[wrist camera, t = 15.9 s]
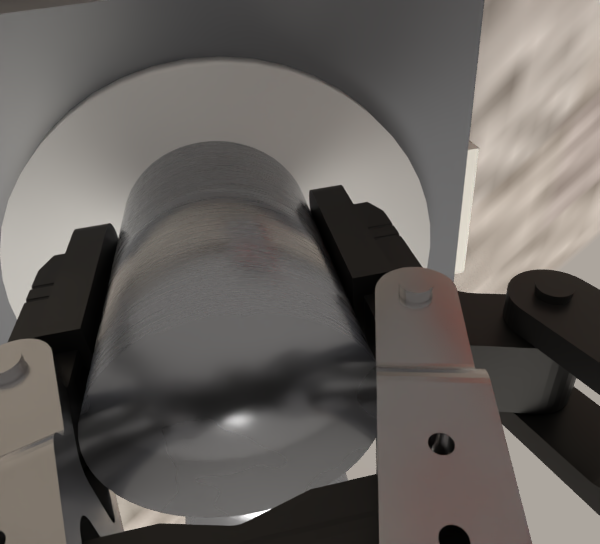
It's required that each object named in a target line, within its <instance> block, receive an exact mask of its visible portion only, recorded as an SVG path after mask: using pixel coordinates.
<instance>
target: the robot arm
mask: <svg viewBox="0 0 600 544" xmlns="http://www.w3.org/2000/svg"><path fill="white" fill-rule="evenodd" d="M309 204H310V211H311V214H312V216H313V218H314V221H315V223H316V225H317V228H318V230H319V232H320V234H321V237H322V239H323V241H324V244H325V246H326V248H327V250H328V253H329V255H330V257H331V260H332V262H333V264H334V267H335V269H336V271H337V273H338V276H339V278H340V280H341V283H342V285H343V287H344V290H345V292H346V294H347V296H348V299H349V301H350V303H351V306H352V308H353V310H354V313H355V315H356V317H357V319H358V322H359V324H360V326H361V329H362V331H363V333H364V335H365V338H366V340H367V342H368V345H369V347H370V349H371V352H372V354H373V356H374V358H375V361H376V474H375V475H371V476H366V477H362V478H357V479H353V480H349V481H344V482H340V483H335V484H331V485H327V486H322V487H318V488H313V489H310V490H308V491H306V492H304V493H302V494H300V495H298V496H296V497H294V498H292V499H290V500H288V501H286V502H284V503H282V504H280V505H278V506H276V507H274V508H272V509H270V510H268V511H266V512H264V513H262V514H260V515H258V516H257V517H255V518H253V519H251V520H249V521H247V522H244V523H242V524H239V525H232V526H225V525H192V524H155V525H151V526H147V527H142V528H138V529H134V530H129V531H125V532H124V529H123V525H122V521H121V516H120V512H119V508H118V503H117V499H116V495H115V493H114V492H113V491H111V490H110V489H109V488H107V487H106V486H104V485H103V484H102V483H101V482H100V481H99V480H98V479H97V478H96V477H95V476H94V474H93V473H92V471H91V470H90V469H89V467H88V466H87V464H86V462H85V460H84V458H83V455H82V453H81V450H80V445H79V441H78V422H79V417H80V413H81V408H82V403H83V399H84V394H85V390H86V385H87V380H88V376H89V371H90V367H91V362H92V357H93V353H94V348H95V344H96V339H97V334H98V330H99V325H100V321H101V316H102V311H103V307H104V302H105V298H106V293H107V288H108V284H109V279H110V275H111V270H112V265H113V261H114V256H115V252H116V247H117V242H118V236H117V233H116V231H115V228H114V227H113V225H112V224H110V223H108V224H102V225H96V226H90V227H84V228H78V229H75V230H74V231H73V233H72V236H71V239H70V241H69V244H68V247H67V250H66V252H65V254H59V255H54V256H53V257H52V258H51V259H50V260H49V261H48V262H47V263H46V264H45V265H44V266H43V267H41V268H40V269H39V270H38V272H37V275H36V277H35V279H34V282H33V284H32V286H31V287H32V289H31V290H30V291H29V293H28V296H27V298H26V303H24V305H23V307H22V310H21V312H20V314H19V317H18V319H17V321H16V324H15V326H14V328H13V331H12V333H11V335H10V338H9V340H8V342H7V343H5V344H2V345H0V544H532V541H531V537H530V533H529V529H528V525H527V521H526V517H525V514H524V510H523V506H522V502H521V498H520V494H519V490H518V486H517V482H516V478H515V474H514V471H513V467H512V463H511V459H510V455H509V451H508V447H507V443H506V439H505V435H504V431H503V427H502V424H503V425H504V426H505V427H506V428H507V429H508V430H509V431H510V432H511V433H512V434H513V435H514V436H516V438H518V439H519V440H520V441H521V442H522V443H523V444H524V445H525V446H526V447H527V448H528V449H529V450H530V451H531V452H533V453H534V454H535V455H536V456H537V457H538V458H539V459H540V460H541V461H542V462H543V463H544V464H545V465H546V466H547V467H548V468H550V469H551V470H552V471H553V472H554V473H555V474H556V475H557V476H558V477H559V478H560V479H561V480H562V481H563V482H564V483H565V484H567V485H568V486H569V487H570V488H571V489H572V490H573V491H574V492H575V493H576V494H577V495H578V496H579V497H580V498H582V500H584V501H585V502H586V503H587V504H588V505H589V506H590V507H591V508H592V509H593V510H594V511H596V513H597V514H598V515H600V406H599V405H597V404H596V403H595V402H594V401H592V400H591V399H590V398H588V397H587V396H586V395H584V394H583V393H582V392H580V391H579V390H578V389H576V388H575V387H574V383H575V380H576V378H577V379H579V380H580V381H582V382H583V383H584V384H586V385H587V386H589V387H590V388H591V389H592V390H594V391H595V392H597V393H598V394H599V395H600V290H599V289H597V288H596V287H594V286H592V285H590V284H589V283H587V282H585V281H583V280H581V279H579V278H577V277H575V276H572V275H570V274H567V273H563V272H559V271H554V270H530V271H526V272H523V273H520V274H518V275H516V276H515V277H514V278H512V279H511V281H510V282H509V284H508V288H507V293H506V294H477V293H466V292H460V291H457V288H456V286H455V284H454V283H453V281H452V280H451V279H450V278H448V277H447V276H445V275H444V274H442V273H440V272H438V271H435V270H432V269H428V268H423V267H422V266H421V264H420V263H419V261H418V260H417V258H416V257H415V256H414V254H413V253H412V251H411V250H410V248H409V247H408V245H407V244H406V242H405V241H404V240H403V238H402V237H401V236H399V232H398V231H397V229H396V228H395V227H394V226H392V222H391V221H390V219H389V218H388V216H387V215H386V213H385V212H384V211H383V210H381V209H380V208H378V207H376V206H374V205H372V204H371V203H369V202H363V203H357V204H353V202H352V201H351V199H350V197H349V196H348V194H347V192H346V191H345V189H344V187H343V186H342V185H336V186H330V187H325V188H319V189H313V190H310V191H309Z"/></svg>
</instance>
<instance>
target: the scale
mask: <svg viewBox="0 0 600 544" xmlns="http://www.w3.org/2000/svg"><path fill="white" fill-rule="evenodd" d="M483 8H484V0H0V345H2V344H5V343H7V342H8V340H9V338H10V335H11V333H12V331H13V328H14V326H15V324H16V321H17V319H18V317H19V314H20V312H21V310H22V307H23V305H24V303H26V298H27V296H28V293H29V291H30V290H31V289H32V287H31V286H32V284H33V282H34V279H35V277H36V275H37V272H38V270H39V269H40V268H41V267H43V266H44V265H45V264H46V263H47V262H48V261H49V260H50V259H51V258H52V257H53V256H54V255H59V254H65V252H66V250H67V247H68V244H69V241H70V239H71V236H72V233H73V231H74V230H75V229H78V228H84V227H90V226H96V225H102V224H108V223H110V224H112V225H113V227H114V228H115V231H116V233H117V236H118V238H119V233H120V229H121V224H122V219H123V215H124V210H125V206H126V201H127V199H128V196H129V193H130V191H131V189H132V187H133V186H134V184H135V182H136V181H137V179H138V178H139V177H140V176H141V174H142V173H143V172H144V171H145V170H146V169H147V168H148V167H149V166H150V165H151V164H152V163H153V162H155V161H156V160H158V159H159V158H160V157H162V156H163V155H165V154H167V153H169V152H171V151H173V150H175V149H177V148H180V147H183V146H186V145H189V144H194V143H198V142H207V141H228V142H234V143H240V144H244V145H247V146H250V147H253V148H256V149H258V150H260V151H262V152H264V153H266V154H268V155H269V156H271V157H273V158H274V159H275V160H277V161H278V162H279V163H280V164H282V165H283V166H284V167H285V168H286V169H287V170H288V171H289V172H290V174H291V175H292V176H293V177H294V179H295V180H296V182H297V183H298V185H299V187H300V189H301V191H302V193H303V195H304V198H305V200H306V202H307V205H308V207H309V209H310V204H309V191H310V190H313V189H319V188H325V187H330V186H336V185H342V186H343V187H344V189H345V191H346V192H347V194H348V196H349V197H350V199H351V201H352V202H353V204H357V203H363V202H369V203H371V204H372V205H374V206H376V207H378V208H380V209H381V210H383V211H384V212H385V213H386V215H387V216H388V218H389V219H390V221H391V222H392V226H394V227H395V228H396V229H397V231H398V232H399V236H401V237H402V238H403V240H404V241H405V242H406V244H407V245H408V247H409V248H410V250H411V251H412V253H413V254H414V256H415V257H416V258H417V260H418V261H419V263H420V264H421V266H422V267H423V268H428V269H432V270H435V271H438V272H440V273H442V274H444V275H445V276H447V277H448V278H450V279H451V280H452V281H453V282H454V274H457V273H463V272H464V267H465V259H466V251H467V243H468V235H469V227H470V218H471V210H472V202H473V194H474V186H475V178H476V170H477V161H478V153H479V148H478V147H477V146H476V145H474V144H473V143H472V142H470V141H469V136H470V127H471V118H472V108H473V99H474V90H475V81H476V72H477V63H478V54H479V44H480V35H481V26H482V17H483Z"/></svg>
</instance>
